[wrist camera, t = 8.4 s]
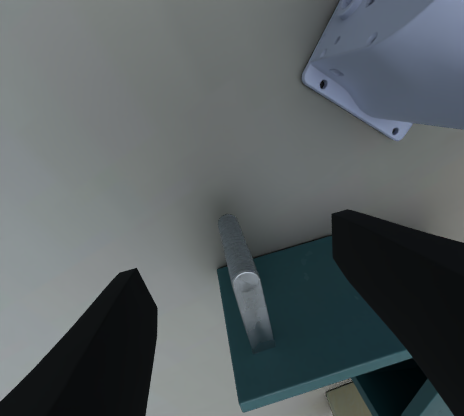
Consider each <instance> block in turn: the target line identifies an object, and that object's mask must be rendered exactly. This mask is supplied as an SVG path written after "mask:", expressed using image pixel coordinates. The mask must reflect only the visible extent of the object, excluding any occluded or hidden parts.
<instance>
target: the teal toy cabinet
mask: <svg viewBox="0 0 464 416" xmlns="http://www.w3.org/2000/svg"><path fill="white" fill-rule="evenodd" d="M351 379H352V381H353V383H354V385H355V386H356V388H357V390H358V392H359V393H360V395H361V397H362V399H363V400H364V402H365V404H366V406H367V407H368V409H369V411H370V413H371V414H372V416H454V415H453V414H452V412H451V411H450V409H449V408H448V406H447V405H446V404H445V402H444V401H443V399H442V398H441V396H440V395H439V394H438V392H437V391H436V389H435V388H434V386H433V385H432V384H431V382H430V381H429V379H428V378H427V377H426V375H425V374H424V373H423V371H422V370H421V368H420V367H419V366H418V364H417V363H416V362H415V360H414V359H413V358H410V359H407V360H404V361H401V362H398V363H395V364H392V365H389V366H386V367H383V368H380V369H377V370H373V371H370V372H367V373H364V374H361V375H358V376H355V377H352V378H351Z"/></svg>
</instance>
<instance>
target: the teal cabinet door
mask: <svg viewBox="0 0 464 416" xmlns="http://www.w3.org/2000/svg"><path fill="white" fill-rule="evenodd" d="M218 227H219V231H220V236H221V240H222V244H223V249H224V253H225V257H226V262H227V267H223V268H220V269H217V274H218V280H219V286H220V292H221V298H222V304H223V310H224V316H225V323H226V329H227V335H228V341H229V347H230V353H231V359H232V365H233V371H234V377H235V384H236V390H237V396H238V402H239V405H240V407H241V410H242V412H247V411H251V410H254V409H257V408H260V407H263V406H266V405H269V404H272V403H275V402H278V401H281V400H284V399H287V398H291V397H294V396H297V395H300V394H303V393H306V392H309V391H312V390H315V389H318V388H321V387H324V386H327V385H330V384H334V383H337V382H340V381H343V380H346V379H349V378H352V377H355V376H358V375H361V374H364V373H367V372H370V371H373V370H377V369H380V368H383V367H386V366H389V365H392V364H395V363H398V362H401V361H404V360H407V359H410V358H413V357H412V356H411V355H410V353H409V352H408V351H407V349H406V348H405V347H404V346H403V344H402V343H401V342H400V341H399V339H398V338H397V337H396V336H395V335H394V333H393V332H392V331H391V330H390V329H389V328H388V326H387V325H386V324H385V323H384V322H383V321H382V320H381V318H380V317H379V316H378V315H377V314H376V313H375V312H374V310H373V309H372V308H371V307H370V306H369V305H368V304H367V302H366V301H365V300H364V299H363V298H362V297H361V295H360V294H359V293H358V292H357V291H356V290H355V288H354V287H353V286H352V285H351V284H350V283H349V281H348V280H347V279H346V277H345V276H344V274H343V273H342V271H341V270H340V268H339V267H338V265H337V264H336V262H335V261H334V259H333V257H332V236H329V237H325V238H322V239H318V240H315V241H312V242H308V243H305V244H301V245H298V246H295V247H291V248H288V249H284V250H281V251H278V252H274V253H271V254H267V255H264V256H261V257H257V258H254V259H253V258H252V255H251V253H250V250H249V248H248V245H247V243H246V240H245V238H244V235H243V233H242V230H241V227H240V225H239V222H238V220H237V218H236V217H235V216H234V215H232V214H225V215H223V216H222V217H221V218H220V219H219V221H218Z"/></svg>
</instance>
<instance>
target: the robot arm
mask: <svg viewBox="0 0 464 416" xmlns="http://www.w3.org/2000/svg"><path fill="white" fill-rule="evenodd" d="M322 80H323V81H324V86H323V88H320V82H321V81H322ZM302 82H303V83H304V84H305V85H306V86H308V87H309V88H311V89H313V90H314V91H316V92H317V93H319V94H320V95H322V96H324V97H325V98H327V99H328V100H330V101H332V102H333V103H335V104H336V105H338V106H340V107H341V108H343V109H344V110H346V111H347V112H349V113H351V114H352V115H354V116H355V117H357V118H359V119H360V120H362V121H363V122H365V123H366V124H368V125H370V126H371V127H373V128H374V129H376V130H378V131H379V132H381V133H382V134H384V135H386V136H387V137H389V138H390V139H392V140H395V141H399V140H401V139H402V138H403V137H404V136H405V134H406V133H407V131H408V130H409V129H410V127H411V126H412V124H413V123H416V124H424V125H432V126H440V127H447V128H455V129H463V130H464V0H340V1H339V3H338V5H337V7H336V9H335V11H334V13H333V15H332V17H331V19H330V21H329V23H328V25H327V27H326V29H325V31H324V33H323V34H322V36H321V38H320V40H319V42H318V44H317V46H316V48H315V50H314V52H313V54H312V56H311V58H310V60H309V62H308V64H307V66H306V68H305V69H304V71H303V74H302ZM394 128H395V130H394V132H393V133H392V131H393V129H394ZM332 257H333V259H334V261H335V262H336V264H337V265H338V267H339V268H340V270H341V271H342V273H343V274H344V276H345V277H346V279H347V280H348V281H349V283H350V284H351V285H352V286H353V287H354V288H355V290H356V291H357V292H358V293H359V294H360V295H361V297H362V298H363V299H364V300H365V301H366V302H367V304H368V305H369V306H370V307H371V308H372V309H373V310H374V312H375V313H376V314H377V315H378V316H379V317H380V318H381V320H382V321H383V322H384V323H385V324H386V325H387V326H388V328H389V329H390V330H391V331H392V332H393V333H394V335H395V336H396V337H397V338H398V339H399V341H400V342H401V343H402V344H403V346H404V347H405V348H406V349H407V351H408V352H409V353H410V355H411V356H412V357H413V359H414V360H415V362H416V363H417V364H418V366H419V367H420V368H421V370H422V371H423V373H424V374H425V375H426V377H427V378H428V379H429V381H430V382H431V384H432V385H433V386H434V388H435V389H436V391H437V392H438V394H439V395H440V396H441V398H442V399H443V401H444V402H445V404H446V405H447V406H448V408H449V409H450V411H451V412H452V414H453V415H454V416H464V243H462V242H458V241H455V240H451V239H447V238H443V237H440V236H436V235H432V234H429V233H425V232H422V231H418V230H415V229H412V228H408V227H405V226H402V225H398V224H395V223H392V222H389V221H386V220H382V219H379V218H376V217H373V216H370V215H366V214H363V213H359V212H356V211H352V210H344V211H340V212H337V213H333V214H332ZM156 340H157V306H156V304H155V302H154V300H153V298H152V296H151V294H150V293H149V291H148V289H147V287H146V285H145V283H144V281H143V279H142V277H141V275H140V273H139V271H138V269H137V268H135V269H131V270H128V271H124V272H120V273H119V274H118V275H117V276H116V277H115V278H114V279H113V280H112V281H111V282H110V283H109V285H108V286H107V287H106V288H105V289H104V290H103V292H102V293H101V294H100V295H99V296H98V297H97V299H96V300H95V301H94V302H93V303H92V304H91V306H90V307H89V308H88V309H87V310H86V311H85V313H84V314H83V315H82V316H81V317H80V318H79V319H78V321H77V322H76V323H75V324H74V325H73V326H72V328H71V329H70V330H69V331H68V332H67V333H66V334H65V335H64V336H63V337H62V338H61V340H60V341H59V342H58V343H57V344H56V345H55V346H54V347H53V348H52V349H51V350H50V352H49V353H48V354H47V355H46V356H45V357H44V358H43V359H42V360H41V361H40V362H39V364H38V365H37V366H36V367H35V368H34V369H33V370H32V371H31V372H30V373H29V374H28V375H27V376H26V377H25V378H24V379H23V380H22V381H21V382H20V383H19V384H18V385H17V386H16V387H15V388H14V389H13V390H12V391H11V392H10V393H9V394H8V395H7V396H6V397H5V398H4V399H3V400H2V401H0V416H145V415H146V408H147V401H148V395H149V388H150V381H151V375H152V368H153V361H154V354H155V347H156Z"/></svg>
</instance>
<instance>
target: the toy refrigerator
mask: <svg viewBox="0 0 464 416" xmlns="http://www.w3.org/2000/svg"><path fill="white" fill-rule="evenodd" d="M326 395H327V398H328V401H329V405H330V408H331V411H332V413H333V416H372V414H371V413H370V411H369V409H368V407H367V406H366V404H365V402H364V400H363V399H362V397H361V395H360V393H359V392H358V390H357V388H356V386H355V385H354V383H350V384H348V385H345V386H342V387H340V388H337V389H334V390H332V391H329V392H327V393H326Z"/></svg>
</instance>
